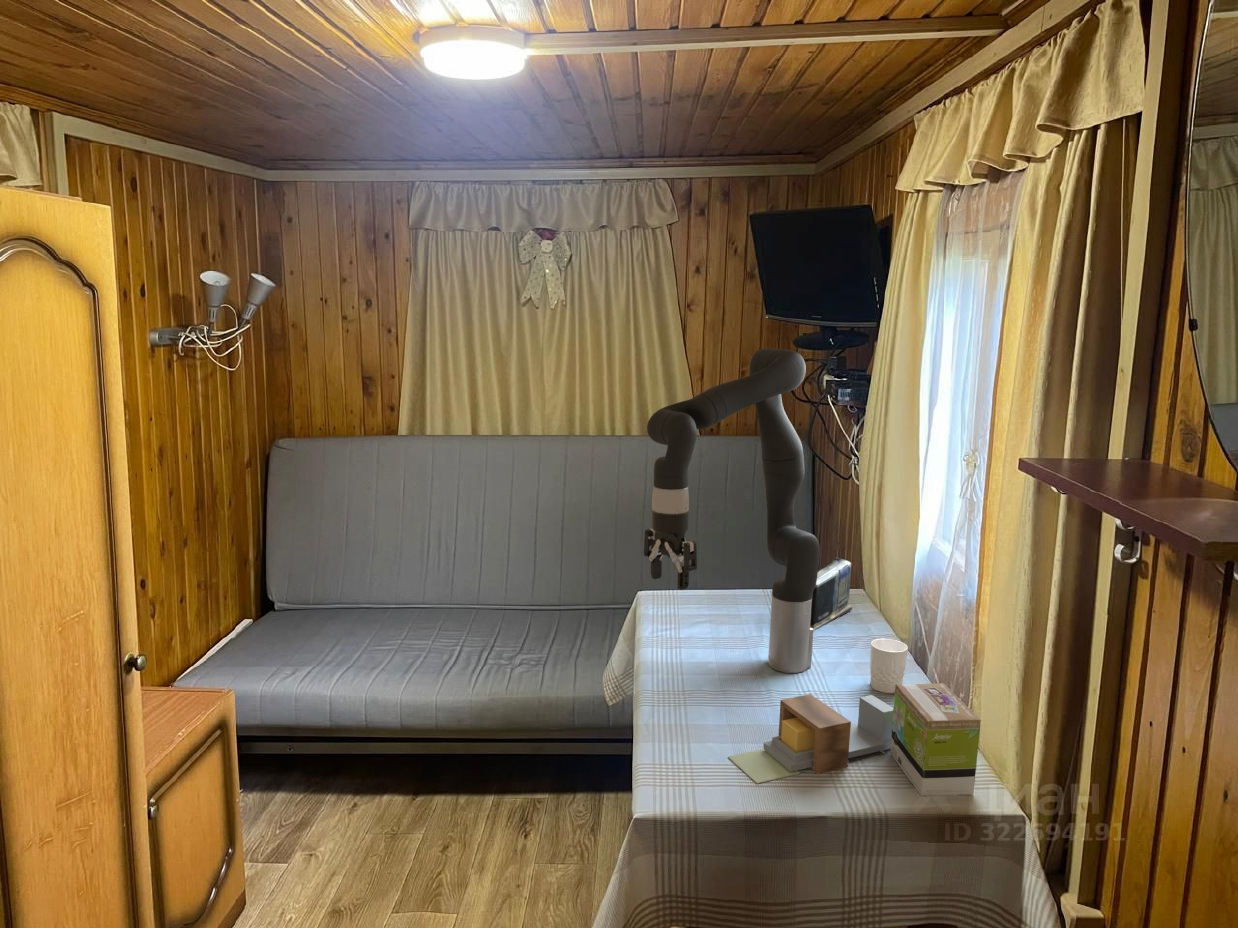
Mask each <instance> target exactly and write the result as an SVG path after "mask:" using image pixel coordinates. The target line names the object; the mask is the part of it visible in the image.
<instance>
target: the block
mask: <svg viewBox="0 0 1238 928" xmlns="http://www.w3.org/2000/svg"><path fill="white" fill-rule="evenodd" d="M781 741H782V742H783V743H784V744H786V745H787V746H788V747H789V748H791V749H792V750H793V751H794V752H796V753H798V752H802V751H807V750H811V749H814V743H815V730H814V729H813V728H811V727H810V726H809V725H807V724H806V723H804V722H803V721H802V720H800V719H799V718H798V717H797V718H793V719H788V720H783V721H782V733H781Z"/></svg>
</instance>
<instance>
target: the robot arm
mask: <svg viewBox="0 0 1238 928" xmlns="http://www.w3.org/2000/svg"><path fill="white" fill-rule="evenodd" d="M806 368H807V366H806V362H805V360H804V357H803V356H802V355H801V354H800V353H799V352H798V351H795V350H792V349H784V348H760V349H758V350H757V351H755V352H754V353H753V355H752V356H751V359H750V362H749V372H748V373H749V375H748V376H744V377H740V378H737V379H734V380H730V381H727V382H723V383H721V384H717V385H714V386H713V387H710V388H708V389H706V390H703V392H701V393H699V394H697V395H695V396H693V397H692V398H689V399H686V400H683V401H679V402H676V403H673V404H670V405H667V406H663V407H662V408H660V409H658V410H656V411H655V412H654V413H653V414H652V415H651V416H650V417H649V420H648V422H647V425H646V431H647V432H646V433H647V435H648V437H649V438H650V439H651V440H652V441H654V442H655V443H657V444H659V445H660V444H661V445H663V446H664V445H665V446H667V448H666V452H665V456H660V457H658V458H657V459H656V460H655V462H654V465H653V488H652V489H653V490H652V497H651V499H652V501H651V508H652V509H651V510H652V511H651V528H648V529H645V530H644V539H643V541H644V542H643V543H644V544H643V545H644V546H643V556H644V557H648V559H649V561H650V576H651V578H652V579H653V580H658V579H660V578H662V570H663V569H662V564H663V563H662V562H663V561H662V558H663V557H664V556H667V557H668V558H670V559H671V561H672V563H674V564H675V566H676V568H677V589H678V590H680V591H682V590H686V589H688V587H689V585H690V572H692V571H695V570H697V569H698V564H697V563H698V557H697V553H698V552H697V550H698V549H697V542H696V541H695V540H692V541H688V540H687V539H686V533H687V531H689V524H690V522H689V519H690V494H689V466H690V463H691V460H692V457H693V453H694V449H695V445H696V442H697V436H698V430H706V429H708V428H710V427H712V426H714V425H716V424H718V423H720V422H721V421H723V420H725V419H727V418H728V417H730V416H732V415H734V414H736V413H739V411H742V410H744V409H747V408H748V407H751V406H752V405H754V404H755V410H756V414H757V415H756V416H757V421H758V430H759V438H760V446H761V447H760V448H761V459H762V461H761V462H762V469H763V471H762V472H763V477H764V485H765V496H766V497H765V498H766V509H767V510H766V514H767V515H766V517H767V518H766V522H767V523H766V525H767V526H766V527H767V528H766V529H767V530H766V541H767V542H766V543H767V544H766V545H767V552H768V554H769V557H770V558H771V560H772V561H774V562H775V563H776V564H779V565H780V566H784V567H786V568H785V569H786V570H785V578H781V579H779V580H778V579H777V580H776V581H774V582H773V584H772V587H771V589H772V590H771V604H770V607H771V608H770V622H769V624H770V625H769V643H768V657H767V659H768V660H767V664H768V666H769V667H770V668H772V669H773V670H775V671H777V672H780V673H782V672H783V673H787V674H794V673H802V672H805V671H806V670H807V669H809V668H812V657H813V641H814V631H813V628H811V627H810V621H811V605H812V593H813V590H814V588H815V585H816V582H817V574H818V571H819V566H820V565H819V564H820V556H821V555H820V554H821V551H820V550H821V547H820V543H819V539H818V538H817V536H815V535H814V534H813V533H811V532H808V531H806V530H804V529H803V530H802V529H799V528H797V525H796V521H795V511H794V508H795V507H794V506H795V501H796V497H797V496H798V493H799V491H800V489H801V486H802V484H803V483H804V482H803V481H804V479H805V473H806V470H805V469H806V468H805V458H804V448H803V445H802V441H801V438H800V436H799V435H798V433H797V431H796V429H795V428H794V426H793V424H792V422H791V421H790V419H789V418H788V415H787V414H786V411H785V409H784V405H783V400H782V395H783V394H785V393H788V392H791V391H792V392H793V390H796V389H797V388H798V387H799V386H800V385H801V384H802V382H803V381H804V379H805V376H806V373H807V369H806ZM682 564H683V565H682Z"/></svg>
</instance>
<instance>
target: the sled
mask: <svg viewBox="0 0 1238 928" xmlns="http://www.w3.org/2000/svg"><path fill="white" fill-rule="evenodd" d="M858 707H859V708H858V717H857V722H854V723H851V728H850V742H849V755H848V758H852V757H857V756H861V755H865V754H870V753H874V752H878V751H881V752H883V751H885V750H891V737H892V722H893V708H894V707H893V706H892V705H891V706H890V705H889V704H887V703H886V702H884V701H882V700H881V699H879V698H878V697H876V696H875V695H873V694H870V695H866V696H860V697H859V706H858ZM762 749H764V750H765V751H767V752H768V753H769V754H770V755H771V756H773V757H774V758H775V759H776V760H777V761H778V762H780V763H781V764H782V765H783V766H784V767H786V768H787V769H788V770H789V771H790V772H792V771H800V770H805V769H809V768H813V758H814V749H811V750H807V751H802V752H798V753H796V752H794V751H793V750H792V749H791V748H789V747H788V746H787V745H786V744H784V743H783V742H782V741H781V736H779V735H778V736H773V737H772V738H771V740H769V741H766V742H763V748H762Z"/></svg>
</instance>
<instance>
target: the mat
mask: <svg viewBox="0 0 1238 928" xmlns="http://www.w3.org/2000/svg"><path fill="white" fill-rule="evenodd" d="M727 756H728V755H727ZM727 758H728V759H729V760H730V761H731V762H732V763H734V765H736V767H738V768H739V769H740V770H741V771H742V772H744V774H745V775H747V776H748V777H749V779H750V780H752V781H754V783H756V785H759V784H763V783H767V782H772V781H776V780H779V779H784V778H788V777H792V776H797V775H800V773H799V772H798V770H796V771H792V772H790V771H789V770H788V769H787V768H786V767H784V766H783V765H782V764H781V763H780V762H778V761H777V760H776V759H775V758H774V757H773V756H771V755H770V754H769V753H768V752H767V751H765V750H764V749H763V748H761V749H756V750H751V751H746V752H743V753H738V754H734V755H729V756H728V757H727Z"/></svg>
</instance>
